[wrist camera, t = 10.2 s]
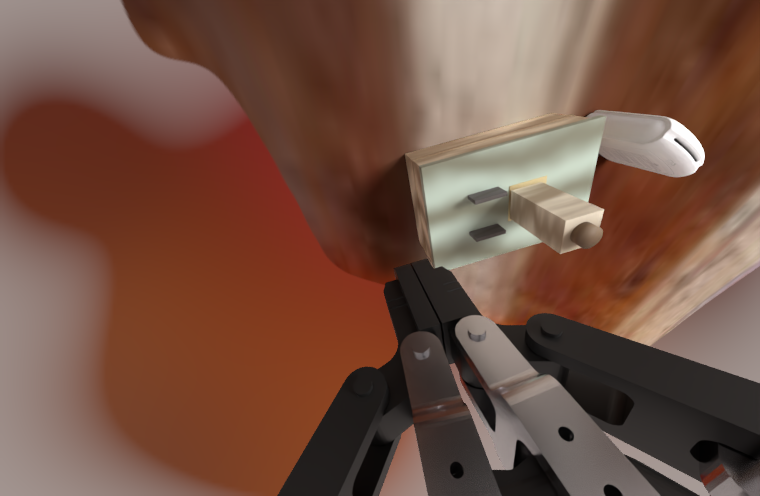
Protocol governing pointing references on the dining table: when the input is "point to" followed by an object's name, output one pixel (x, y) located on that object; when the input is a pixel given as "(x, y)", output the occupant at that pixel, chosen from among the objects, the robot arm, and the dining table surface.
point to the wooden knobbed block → (556, 217)
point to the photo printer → (650, 143)
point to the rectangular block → (496, 183)
